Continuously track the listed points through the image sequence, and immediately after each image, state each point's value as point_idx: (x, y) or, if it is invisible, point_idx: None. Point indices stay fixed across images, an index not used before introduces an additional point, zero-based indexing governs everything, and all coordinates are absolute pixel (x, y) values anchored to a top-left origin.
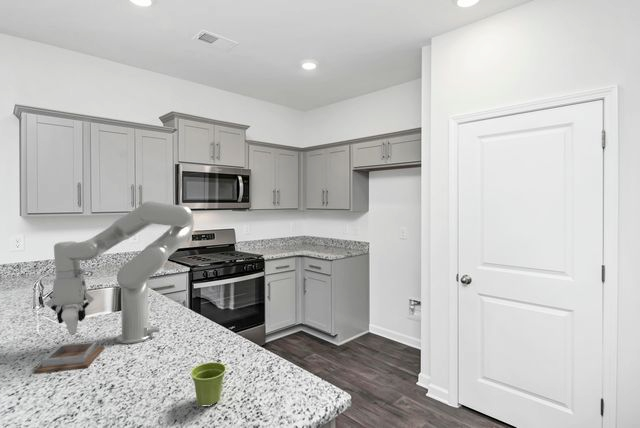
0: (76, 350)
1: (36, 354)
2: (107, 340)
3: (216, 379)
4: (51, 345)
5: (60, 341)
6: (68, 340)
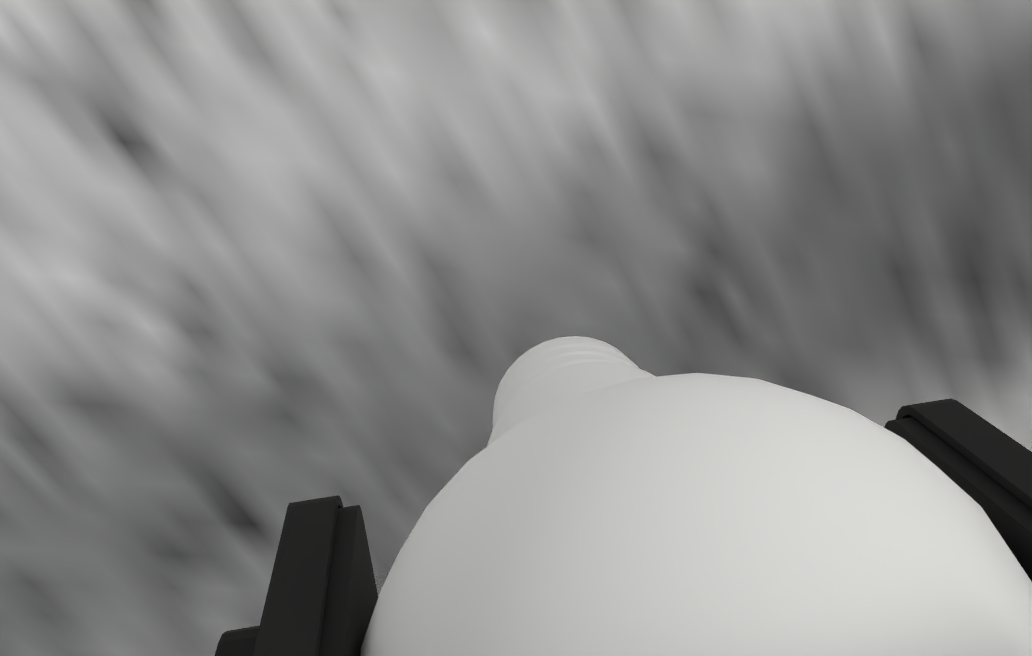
0: None
1: (105, 596)
2: (1001, 120)
3: None
4: (75, 247)
5: (112, 52)
6: (252, 17)
